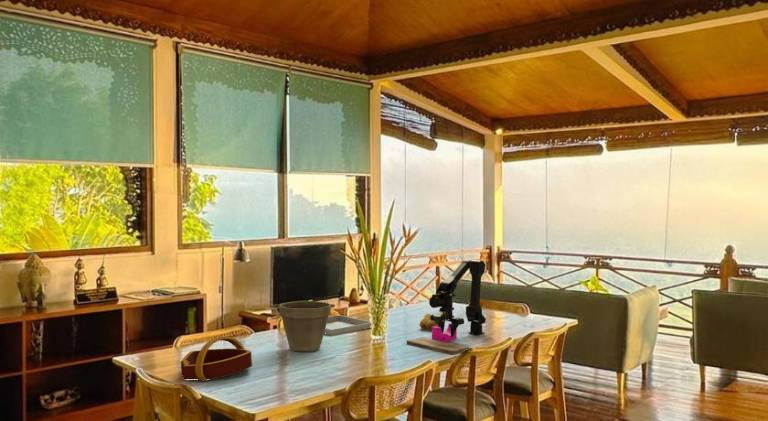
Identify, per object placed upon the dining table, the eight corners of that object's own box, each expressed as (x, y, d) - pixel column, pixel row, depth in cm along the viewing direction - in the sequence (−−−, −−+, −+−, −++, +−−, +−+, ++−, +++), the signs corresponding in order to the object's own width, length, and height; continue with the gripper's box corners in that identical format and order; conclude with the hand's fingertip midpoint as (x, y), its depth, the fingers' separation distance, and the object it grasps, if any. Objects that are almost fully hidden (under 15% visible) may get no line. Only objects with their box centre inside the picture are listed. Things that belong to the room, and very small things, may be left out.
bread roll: (445, 330, 353) (445, 315, 353) (433, 332, 347) (433, 317, 347) (428, 326, 363) (428, 312, 363) (416, 329, 356) (416, 314, 356)
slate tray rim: (339, 319, 382) (339, 314, 382) (374, 327, 360) (374, 322, 359) (296, 326, 361) (296, 321, 361) (331, 335, 338) (331, 330, 338)
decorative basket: (219, 364, 289) (214, 331, 289) (273, 361, 278) (268, 327, 278) (167, 386, 257) (162, 349, 258) (226, 383, 246) (220, 344, 247)
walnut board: (422, 340, 328) (423, 337, 328) (468, 350, 306) (468, 347, 306) (406, 343, 320) (406, 340, 320) (452, 354, 298) (452, 351, 298)
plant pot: (310, 340, 326) (310, 298, 326) (341, 348, 309) (341, 304, 308) (269, 348, 309) (269, 304, 309) (299, 357, 291) (299, 310, 291)
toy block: (440, 343, 321) (441, 328, 321) (431, 341, 325) (431, 326, 325) (460, 339, 331) (460, 324, 331) (451, 337, 336) (451, 323, 336)
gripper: (423, 305, 330) (423, 335, 330) (450, 310, 316) (450, 341, 316) (437, 302, 337) (437, 332, 338) (464, 307, 324) (464, 338, 324)
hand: (446, 335), depth 329 cm, fingers closed on toy block, 6 cm apart
